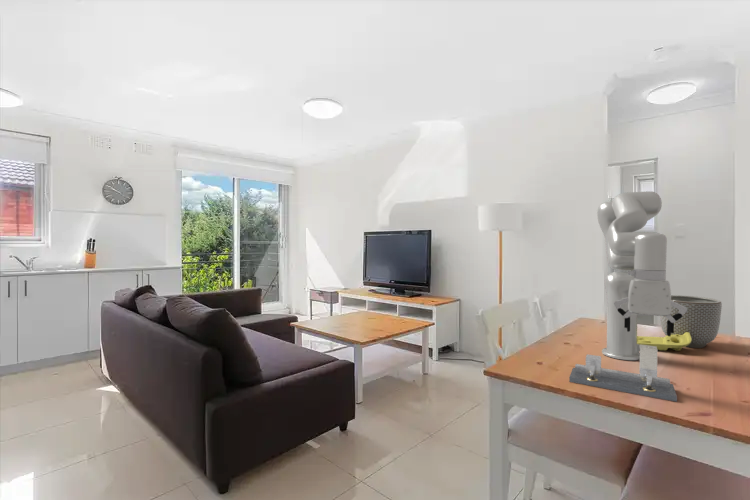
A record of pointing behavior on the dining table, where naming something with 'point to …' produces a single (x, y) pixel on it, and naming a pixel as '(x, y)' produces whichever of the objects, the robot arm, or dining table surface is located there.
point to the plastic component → (666, 341)
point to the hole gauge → (620, 380)
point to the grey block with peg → (648, 363)
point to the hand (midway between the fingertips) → (648, 332)
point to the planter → (696, 319)
